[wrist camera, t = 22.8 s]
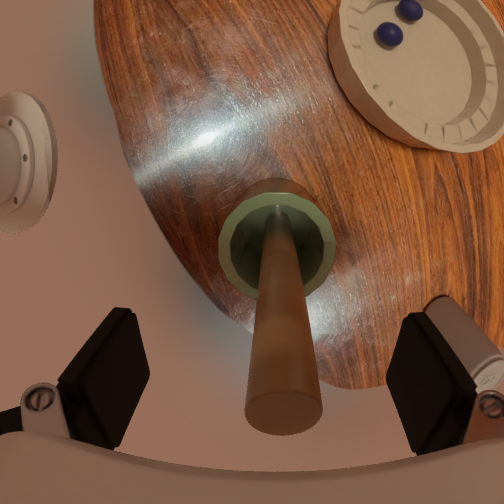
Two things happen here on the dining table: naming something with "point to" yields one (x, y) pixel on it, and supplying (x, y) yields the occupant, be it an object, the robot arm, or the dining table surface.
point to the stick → (282, 341)
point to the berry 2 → (410, 10)
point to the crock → (252, 234)
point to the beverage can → (468, 343)
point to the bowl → (423, 72)
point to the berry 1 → (389, 34)
